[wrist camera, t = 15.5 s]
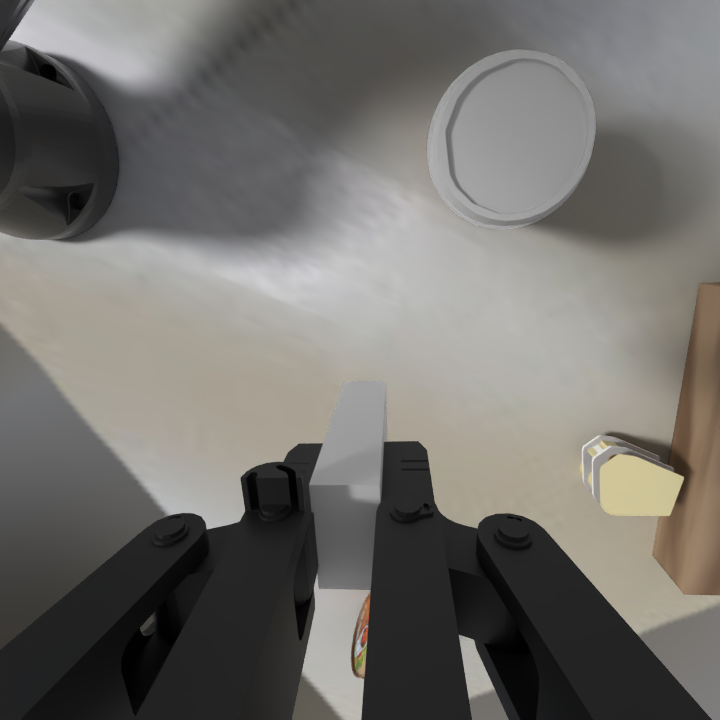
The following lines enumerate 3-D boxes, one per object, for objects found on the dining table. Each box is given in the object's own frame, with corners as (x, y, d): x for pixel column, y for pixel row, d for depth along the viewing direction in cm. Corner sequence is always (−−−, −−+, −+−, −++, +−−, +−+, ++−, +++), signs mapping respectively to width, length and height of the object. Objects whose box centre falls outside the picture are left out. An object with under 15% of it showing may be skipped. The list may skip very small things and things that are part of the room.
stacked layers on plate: (672, 421, 40) (714, 449, 35) (644, 501, 43) (679, 539, 37) (565, 407, 40) (591, 433, 35) (544, 488, 43) (565, 523, 38)
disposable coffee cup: (445, 87, 33) (471, 11, 22) (556, 131, 34) (639, 78, 22) (400, 207, 36) (403, 195, 25) (503, 247, 36) (553, 253, 25)
